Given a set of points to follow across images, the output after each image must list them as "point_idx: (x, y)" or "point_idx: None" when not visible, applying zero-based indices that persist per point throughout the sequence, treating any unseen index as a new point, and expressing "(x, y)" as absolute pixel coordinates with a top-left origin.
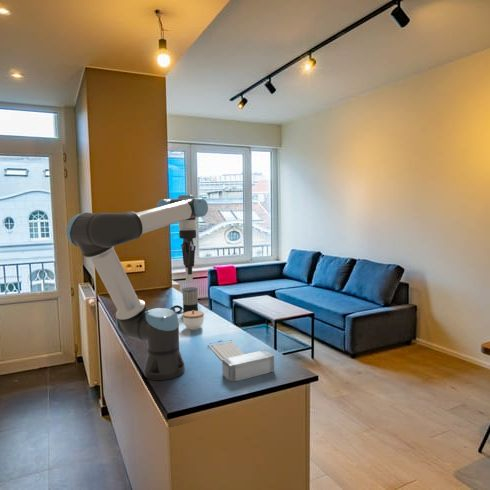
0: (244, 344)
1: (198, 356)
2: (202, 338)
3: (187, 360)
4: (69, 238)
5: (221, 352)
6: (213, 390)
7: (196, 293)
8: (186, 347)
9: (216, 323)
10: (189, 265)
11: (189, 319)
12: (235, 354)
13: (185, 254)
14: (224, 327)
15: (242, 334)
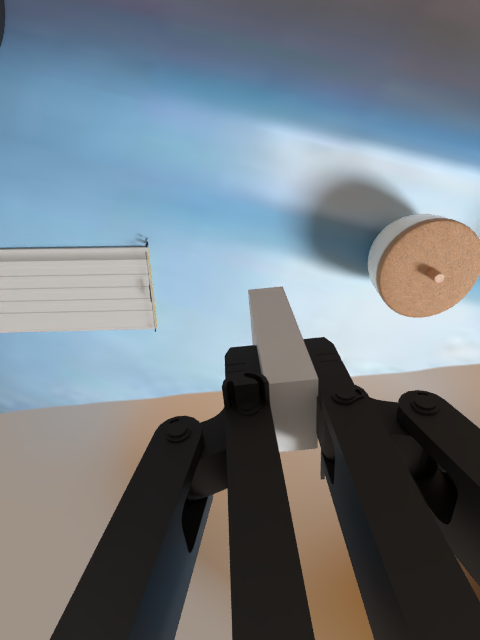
0: (136, 357)
1: (63, 180)
2: (257, 248)
3: (29, 125)
4: None
5: (61, 268)
6: None
7: None
8: (180, 159)
9: (397, 341)
10: (156, 441)
11: (390, 239)
12: (29, 304)
13: (406, 632)
14: None
15: None
